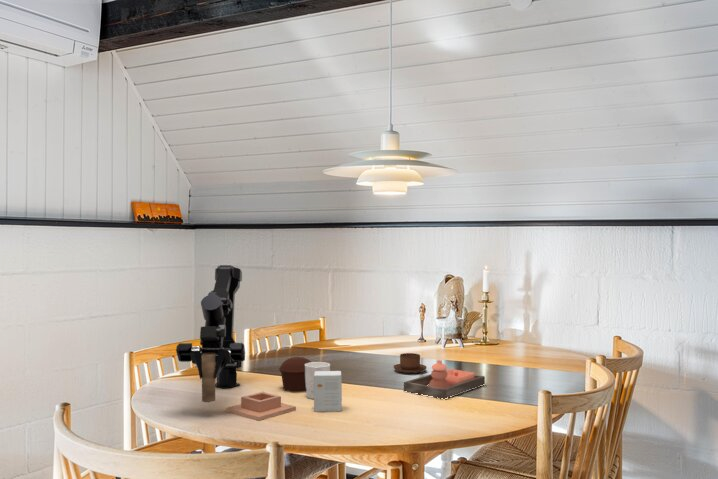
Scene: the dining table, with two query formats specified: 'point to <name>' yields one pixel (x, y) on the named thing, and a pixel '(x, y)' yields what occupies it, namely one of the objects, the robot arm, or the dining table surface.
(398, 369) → the cup and saucer
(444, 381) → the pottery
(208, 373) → the thick brown pillar
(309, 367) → the white cup
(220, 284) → the robot arm
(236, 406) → the pink square stand base
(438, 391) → the dark grey tray
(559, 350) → the dining table surface
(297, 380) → the muffin
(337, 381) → the small box
